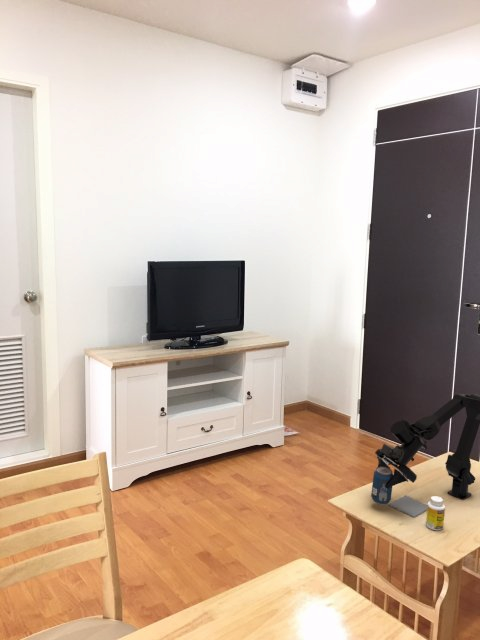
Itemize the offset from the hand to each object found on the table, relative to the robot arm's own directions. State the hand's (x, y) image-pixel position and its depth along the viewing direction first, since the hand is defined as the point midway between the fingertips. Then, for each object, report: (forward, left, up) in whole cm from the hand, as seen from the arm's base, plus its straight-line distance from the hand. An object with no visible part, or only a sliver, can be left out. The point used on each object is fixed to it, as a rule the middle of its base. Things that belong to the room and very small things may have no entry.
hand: (380, 483), depth 191 cm
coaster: (-10, +6, -10) cm, 16 cm away
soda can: (-1, 0, -7) cm, 8 cm away
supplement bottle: (-5, +19, -10) cm, 22 cm away
